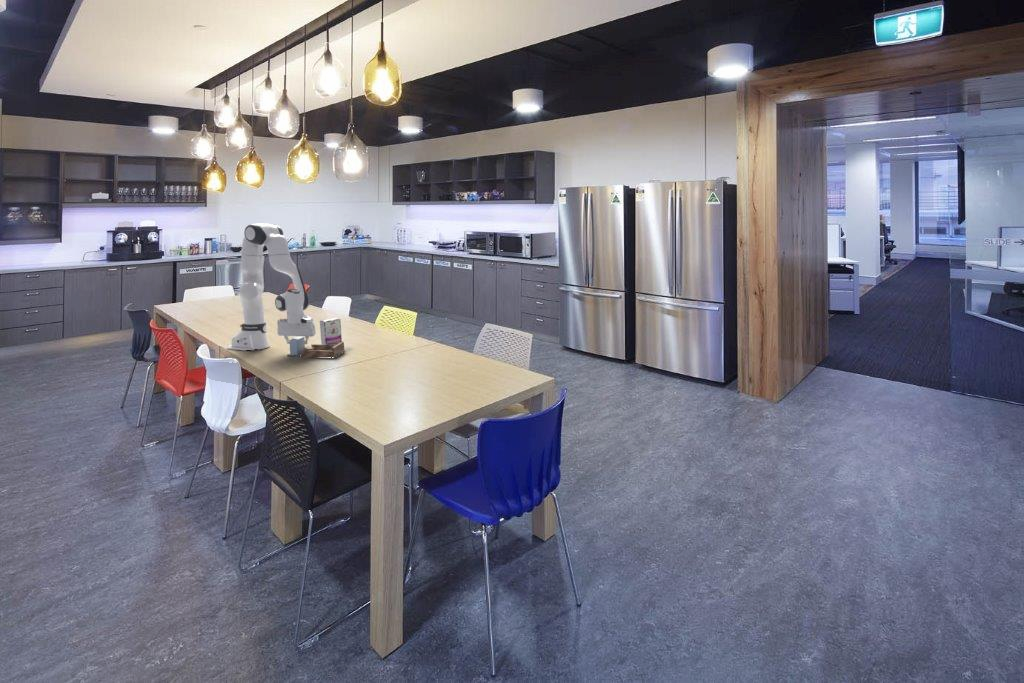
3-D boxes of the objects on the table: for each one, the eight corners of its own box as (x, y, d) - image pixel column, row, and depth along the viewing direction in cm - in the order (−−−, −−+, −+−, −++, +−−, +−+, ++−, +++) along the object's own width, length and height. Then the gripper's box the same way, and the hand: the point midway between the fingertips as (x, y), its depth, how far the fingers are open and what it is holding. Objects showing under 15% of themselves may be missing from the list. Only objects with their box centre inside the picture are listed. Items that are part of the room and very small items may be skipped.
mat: (287, 356, 317) (287, 355, 317) (296, 351, 328) (296, 350, 327) (299, 356, 316) (299, 355, 316) (308, 351, 327) (308, 350, 327)
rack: (301, 357, 314) (300, 346, 313) (312, 351, 329) (311, 340, 328) (334, 358, 313) (334, 347, 312) (344, 352, 328) (343, 341, 326)
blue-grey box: (290, 354, 317) (289, 340, 316) (298, 350, 327) (297, 336, 325) (297, 355, 317) (296, 340, 315) (305, 350, 327) (304, 336, 325)
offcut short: (308, 352, 317) (308, 348, 317) (304, 350, 322) (303, 346, 321) (314, 351, 320) (313, 348, 319) (309, 349, 324) (309, 346, 323)
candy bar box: (337, 345, 345) (335, 317, 342) (342, 346, 342) (341, 318, 339) (320, 348, 336) (319, 320, 333) (326, 349, 333) (324, 321, 330)
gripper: (274, 319, 315) (276, 344, 318) (311, 320, 314) (312, 345, 317) (279, 317, 322) (281, 342, 325) (315, 318, 320) (317, 343, 323)
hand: (297, 343), depth 321 cm, fingers open, 8 cm apart
